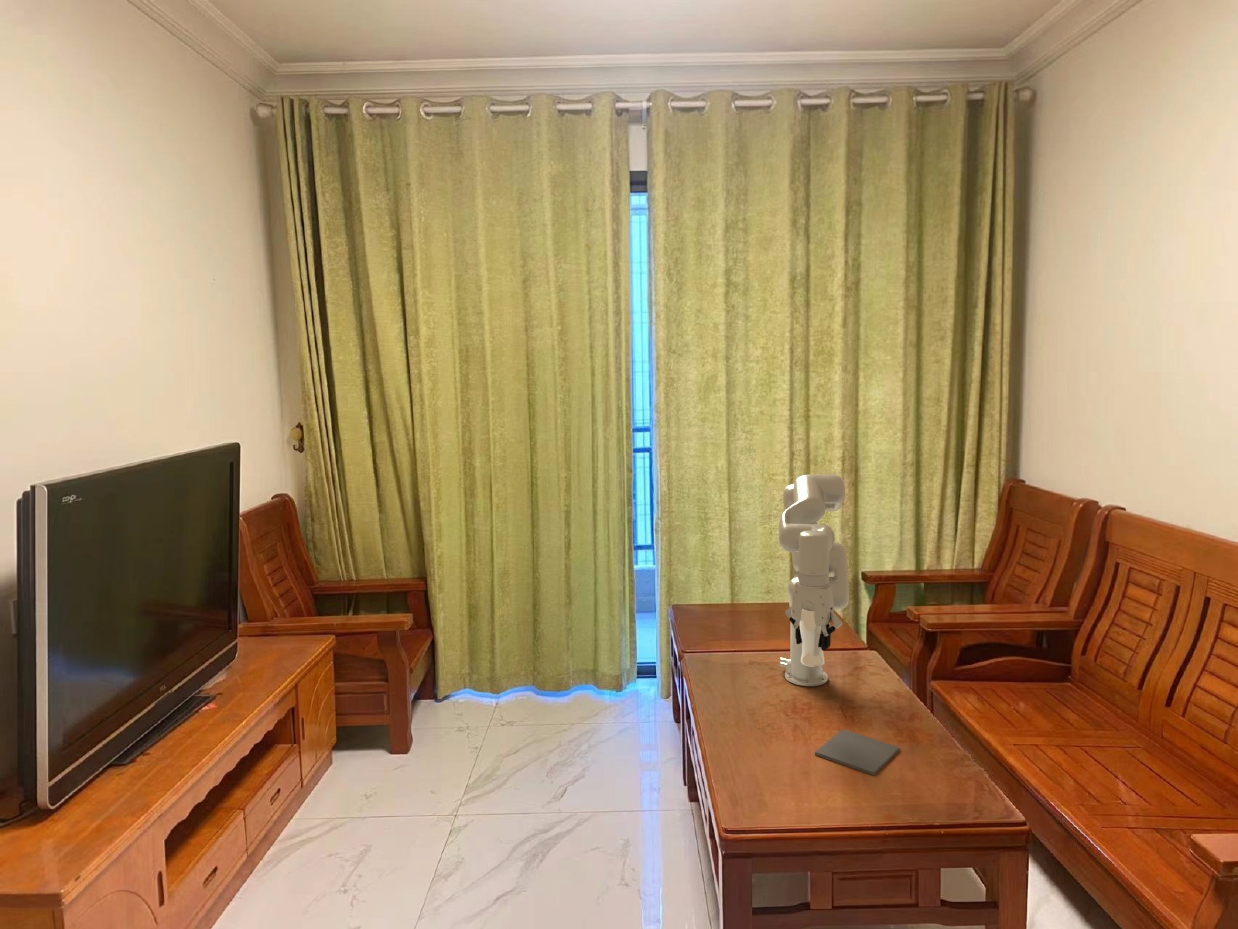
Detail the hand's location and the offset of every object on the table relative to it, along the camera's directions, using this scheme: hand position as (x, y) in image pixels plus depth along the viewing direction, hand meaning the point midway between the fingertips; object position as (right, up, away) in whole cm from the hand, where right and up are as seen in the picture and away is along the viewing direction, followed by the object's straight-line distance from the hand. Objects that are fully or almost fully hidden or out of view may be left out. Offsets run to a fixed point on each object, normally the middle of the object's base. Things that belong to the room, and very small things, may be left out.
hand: (812, 645), depth 202 cm
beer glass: (0, -5, +1) cm, 5 cm away
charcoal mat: (+8, -24, -11) cm, 27 cm away
